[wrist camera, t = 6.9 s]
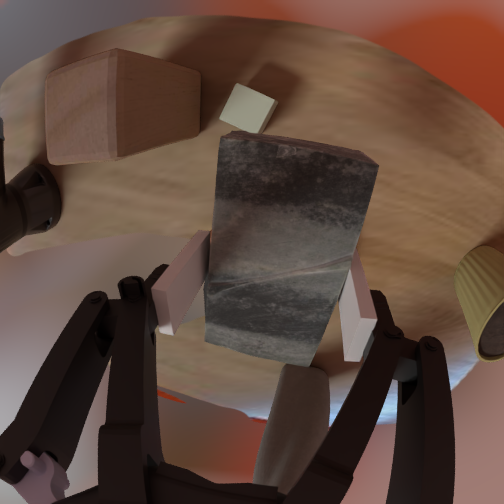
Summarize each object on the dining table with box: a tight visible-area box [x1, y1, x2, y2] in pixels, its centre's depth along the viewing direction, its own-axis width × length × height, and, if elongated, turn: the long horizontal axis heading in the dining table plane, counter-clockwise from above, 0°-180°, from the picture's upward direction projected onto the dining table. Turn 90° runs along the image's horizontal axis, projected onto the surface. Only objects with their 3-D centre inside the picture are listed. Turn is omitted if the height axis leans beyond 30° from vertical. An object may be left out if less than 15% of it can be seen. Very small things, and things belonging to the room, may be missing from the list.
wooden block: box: [45, 48, 201, 165], centre depth 27 cm, size 10×10×20 cm
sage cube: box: [219, 83, 278, 134], centre depth 32 cm, size 5×5×5 cm
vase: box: [253, 364, 330, 494], centre depth 42 cm, size 12×12×30 cm
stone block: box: [203, 131, 379, 367], centre depth 17 cm, size 9×14×5 cm, turn 172°
